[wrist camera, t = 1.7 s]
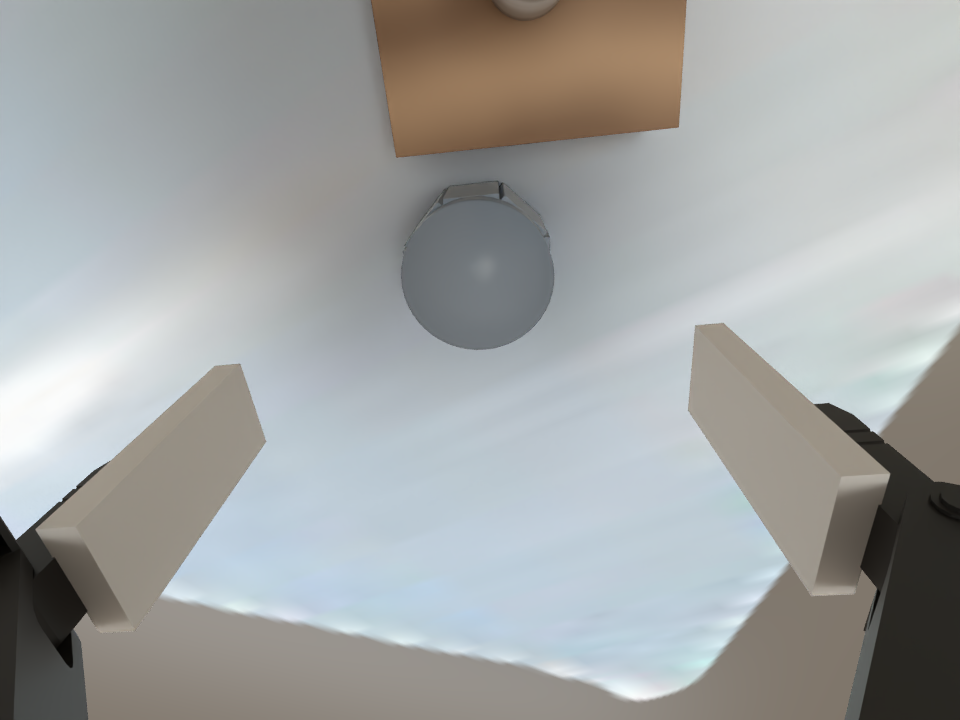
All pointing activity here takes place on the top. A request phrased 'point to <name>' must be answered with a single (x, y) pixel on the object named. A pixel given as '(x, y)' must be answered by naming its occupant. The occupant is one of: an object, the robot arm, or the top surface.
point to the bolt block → (527, 70)
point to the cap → (478, 267)
